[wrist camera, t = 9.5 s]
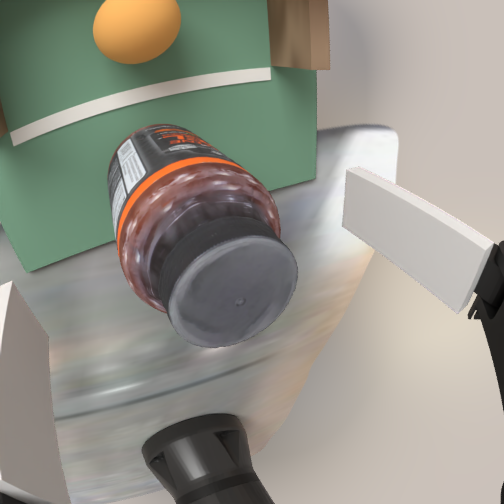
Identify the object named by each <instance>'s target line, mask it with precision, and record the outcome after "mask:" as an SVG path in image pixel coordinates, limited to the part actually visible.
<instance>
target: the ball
mask: <svg viewBox="0 0 504 504" xmlns="http://www.w3.org/2000/svg"><path fill="white" fill-rule="evenodd" d="M180 25H181V13H180V9H179V6H178V4H177V2H176V0H106V1H105V2H104V3H103V4H102V6H101V7H100V9H99V10H98V12H97V14H96V17H95V20H94V24H93V36H94V40H95V43H96V45H97V47H98V48H99V50H100V51H101V52H102V53H103V54H104V55H105V56H106V57H108V58H109V59H111V60H113V61H116V62H119V63H123V64H138V63H143V62H147V61H149V60H152V59H154V58H156V57H157V56H159V55H161V54H162V53H163V52H165V51H166V50H167V49H168V48H169V47H170V46H171V44H172V43H173V42H174V40H175V38H176V37H177V35H178V32H179V29H180Z"/></svg>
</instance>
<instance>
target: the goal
mask: <svg viewBox="0 0 504 504" xmlns="http://www.w3.org/2000/svg"><path fill="white" fill-rule="evenodd" d="M267 11H268V26H269V42H270V60H271V66H280V67H290V68H299V69H308V70H330V44H329V43H330V42H329V15H328V0H267ZM7 132H8V128H7V125H6V121H5V116H4V112H3V108H2V103H1V99H0V138H1V137H2V136H3V135H4V134H6V133H7Z"/></svg>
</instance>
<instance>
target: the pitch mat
mask: <svg viewBox="0 0 504 504" xmlns="http://www.w3.org/2000/svg"><path fill="white" fill-rule="evenodd" d="M105 1H106V0H0V99H1V103H2V108H3V112H4V116H5V121H6V125H7V128H8V132H7V133H6V134H4V135H3V136H2V137H1V138H0V221H1V224H2V226H3V228H4V230H5V232H6V234H7V236H8V238H9V241H10V243H11V245H12V247H13V249H14V251H15V253H16V254H17V256H18V258H19V260H20V262H21V264H22V266H23V268H24V269H25V271H26V273H28V272H31V271H33V270H36V269H38V268H41V267H43V266H46V265H49V264H51V263H54V262H56V261H59V260H61V259H64V258H67V257H69V256H72V255H75V254H77V253H80V252H83V251H85V250H88V249H91V248H93V247H96V246H99V245H102V244H104V243H107V242H110V241H113V240H116V238H115V232H114V226H113V221H112V214H111V207H110V200H109V192H108V180H107V175H108V168H109V164H110V161H111V158H112V156H113V154H114V152H115V150H116V149H117V147H118V146H119V145H120V144H121V142H122V141H123V140H125V139H126V138H127V137H128V136H129V135H130V134H131V133H133V132H135V131H136V130H138V129H140V128H143V127H146V126H149V125H154V124H172V125H177V126H180V127H183V128H186V129H187V130H189V131H191V132H192V133H194V134H196V135H197V136H199V137H200V138H202V139H203V140H205V141H206V142H208V143H209V144H210V145H211V146H213V147H214V148H216V149H218V150H219V151H220V152H221V153H223V154H225V155H226V156H227V157H229V158H230V159H232V160H233V161H235V162H236V163H237V164H239V165H241V166H242V167H243V168H244V169H245V170H246V171H248V172H249V173H250V174H251V175H253V176H254V177H255V178H256V179H258V180H259V181H260V182H261V183H262V184H263V185H264V187H265V188H266V189H267V190H268V191H271V190H275V189H278V188H282V187H285V186H289V185H293V184H297V183H300V182H304V181H308V180H312V179H315V177H316V135H317V82H316V80H317V78H316V70H308V69H299V68H290V67H280V66H271V60H270V42H269V26H268V11H267V0H176V2H177V4H178V6H179V9H180V13H181V25H180V29H179V32H178V35H177V37H176V38H175V40H174V42H173V43H172V44H171V46H170V47H169V48H168V49H167V50H166V51H165V52H163V53H162V54H161V55H159V56H157V57H156V58H154V59H152V60H149V61H147V62H143V63H138V64H123V63H119V62H116V61H113V60H111V59H109V58H108V57H106V56H105V55H104V54H103V53H102V52H101V51H100V50H99V48H98V47H97V45H96V43H95V40H94V36H93V24H94V20H95V17H96V14H97V12H98V10H99V9H100V7H101V6H102V4H103V3H104V2H105Z"/></svg>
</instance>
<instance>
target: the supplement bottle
mask: <svg viewBox="0 0 504 504" xmlns="http://www.w3.org/2000/svg"><path fill="white" fill-rule="evenodd" d="M107 180H108V192H109V200H110V207H111V214H112V221H113V226H114V232H115V238H116V243H117V250H118V255H119V258H120V262H121V266H122V269H123V272H124V275H125V277H126V279H127V282H128V284H129V285H130V287H131V288H132V289H133V291H134V292H135V293H136V294H137V296H138V297H139V298H140V299H141V300H143V301H144V302H145V303H147V304H148V305H150V306H152V307H153V308H155V309H157V310H159V311H162V312H164V313H167V315H168V317H169V319H170V321H171V324H172V326H173V327H174V329H175V330H176V332H177V333H178V334H179V335H180V336H181V337H182V338H184V339H185V340H186V341H188V342H190V343H192V344H194V345H197V346H201V347H208V348H218V347H226V346H230V345H234V344H237V343H239V342H242V341H245V340H247V339H249V338H250V337H253V336H255V335H256V334H258V333H259V332H261V331H263V330H264V329H266V328H267V327H268V326H269V325H270V324H271V323H272V322H274V321H275V320H276V319H277V317H278V316H279V315H280V314H281V313H282V312H283V311H284V309H285V307H286V306H287V304H288V303H289V301H290V299H291V297H292V295H293V292H294V290H295V288H296V283H297V278H298V276H297V274H298V267H297V263H296V260H295V258H294V256H293V254H292V252H291V251H290V250H289V248H288V247H287V246H286V245H285V244H284V243H283V242H282V241H281V240H280V231H281V229H280V218H279V214H278V210H277V207H276V205H275V202H274V200H273V198H272V196H271V194H270V193H269V191H268V190H267V189H266V188H265V187H264V185H263V184H262V183H261V182H260V181H259V180H258V179H256V178H255V177H254V176H253V175H251V174H250V173H249V172H248V171H246V170H245V169H244V168H243V167H242V166H241V165H239V164H237V163H236V162H235V161H233V160H232V159H230V158H229V157H227V156H226V155H225V154H223V153H221V152H220V151H219V150H218V149H216V148H214V147H213V146H211V145H210V144H209V143H208V142H206V141H205V140H203V139H202V138H200V137H199V136H197V135H196V134H194V133H192V132H191V131H189V130H187V129H186V128H183V127H180V126H177V125H172V124H154V125H149V126H146V127H143V128H140V129H138V130H136V131H135V132H133V133H131V134H130V135H129V136H128V137H127V138H126V139H125V140H123V141H122V142H121V144H120V145H119V146H118V147H117V149H116V150H115V152H114V154H113V156H112V158H111V161H110V164H109V168H108V175H107Z"/></svg>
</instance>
